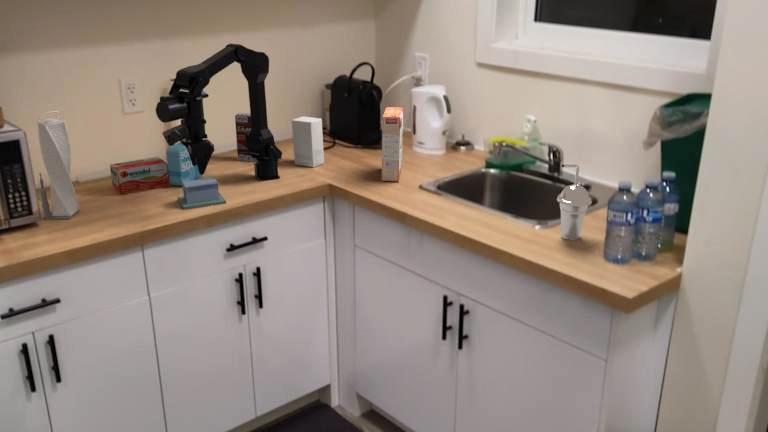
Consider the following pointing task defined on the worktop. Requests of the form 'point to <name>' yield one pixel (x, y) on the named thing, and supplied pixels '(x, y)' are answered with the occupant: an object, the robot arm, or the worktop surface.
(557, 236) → the worktop surface
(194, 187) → the housing
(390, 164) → the cracker box
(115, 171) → the medicine box
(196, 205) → the header board
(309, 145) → the skincare box
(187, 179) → the data package
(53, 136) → the skyscraper
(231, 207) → the worktop surface
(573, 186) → the cup with straw
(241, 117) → the supplement box
